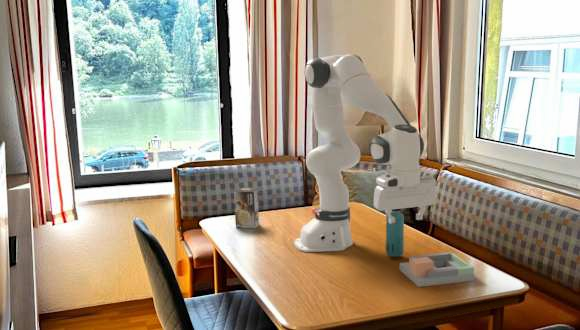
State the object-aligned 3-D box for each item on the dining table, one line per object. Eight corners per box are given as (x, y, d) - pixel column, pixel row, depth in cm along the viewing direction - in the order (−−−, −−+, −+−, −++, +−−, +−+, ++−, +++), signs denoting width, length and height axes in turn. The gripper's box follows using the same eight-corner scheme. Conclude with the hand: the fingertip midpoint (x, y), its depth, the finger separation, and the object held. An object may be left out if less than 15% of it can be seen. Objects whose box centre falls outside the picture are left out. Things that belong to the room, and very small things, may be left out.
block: (416, 277, 187) (416, 263, 186) (409, 271, 192) (409, 258, 191) (433, 275, 188) (433, 261, 188) (426, 269, 193) (426, 256, 192)
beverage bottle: (405, 255, 214) (406, 201, 210) (402, 261, 208) (403, 206, 204) (387, 253, 216) (387, 200, 212) (383, 259, 210) (384, 205, 206)
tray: (418, 286, 186) (418, 273, 185) (399, 269, 200) (399, 257, 199) (473, 280, 190) (474, 267, 189) (451, 264, 204) (451, 252, 203)
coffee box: (259, 224, 255) (258, 188, 252) (255, 228, 249) (254, 191, 246) (239, 223, 257) (238, 187, 254) (234, 227, 251) (233, 191, 248)
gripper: (430, 173, 188) (430, 215, 190) (371, 178, 182) (371, 222, 185) (440, 176, 182) (440, 220, 184) (379, 182, 177) (380, 227, 179)
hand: (405, 221), depth 185 cm, fingers open, 8 cm apart
